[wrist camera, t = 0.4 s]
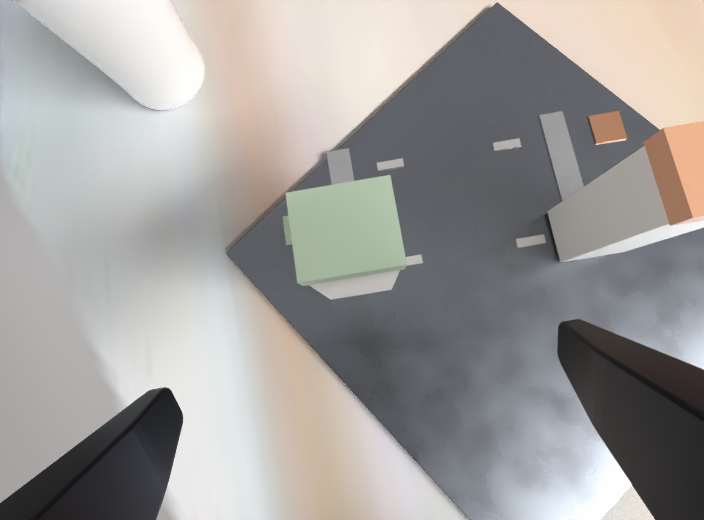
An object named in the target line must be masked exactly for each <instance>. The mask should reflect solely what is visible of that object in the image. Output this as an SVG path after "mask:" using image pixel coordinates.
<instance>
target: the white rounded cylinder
mask: <svg viewBox="0 0 704 520" xmlns="http://www.w3.org/2000/svg"><path fill="white" fill-rule="evenodd" d="M12 1H14V2H15V3H16V4H18V5H19V6H20V7H21V8H23V9H24V10H25V11H26V12H28V13H29V14H30V15H32V16H33V17H34V18H35V19H37V20H38V21H39V22H40V23H42V24H43V25H44V26H46V27H47V28H48V29H49V30H51V31H52V32H53V33H54V34H56V35H57V36H58V37H59V38H61V39H62V40H63V41H65V42H66V43H67V44H68V45H70V46H71V47H72V48H73V49H75V50H76V51H77V52H78V53H80V54H81V55H82V56H83V57H85V58H86V59H87V60H88V61H90V62H91V63H92V64H93V65H95V66H96V67H97V68H98V69H100V70H101V71H102V72H103V73H105V74H106V75H107V76H108V77H110V78H111V79H112V80H113V81H115V82H116V83H117V84H118V85H119V86H121V87H122V88H123V89H124V90H125V91H126V92H127V93H128V94H129V95H130V96H131V97H132V98H133V99H134V100H136V101H137V102H138V103H140V104H141V105H143V106H145V107H147V108H150V109H154V110H162V111H164V110H172V109H176V108H179V107H181V106H183V105H185V104H186V103H188V102H189V101H191V100H192V99H193V98H194V97H195V96H196V95H197V93H198V92H199V90H200V89H201V87H202V84H203V82H204V78H205V64H204V60H203V57H202V54H201V52H200V51H199V49H198V47H197V46H196V44H195V42H194V41H193V39H192V38H191V36H190V34H189V33H188V31H187V29H186V27H185V25H184V23H183V21H182V19H181V17H180V15H179V13H178V11H177V9H176V8H175V6H174V4H173V2H172V0H12Z"/></svg>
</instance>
